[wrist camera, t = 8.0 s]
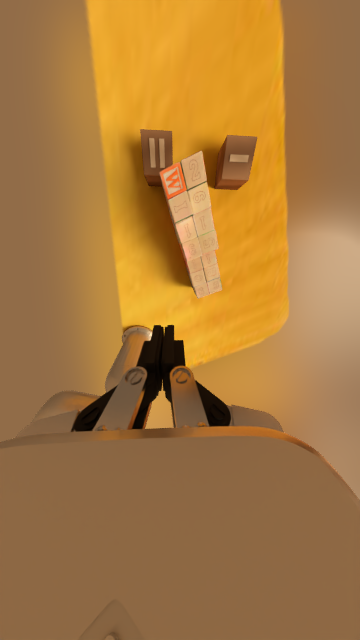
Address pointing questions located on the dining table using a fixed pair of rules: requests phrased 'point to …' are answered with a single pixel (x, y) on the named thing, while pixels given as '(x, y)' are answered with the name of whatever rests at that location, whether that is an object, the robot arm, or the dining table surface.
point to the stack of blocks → (193, 221)
